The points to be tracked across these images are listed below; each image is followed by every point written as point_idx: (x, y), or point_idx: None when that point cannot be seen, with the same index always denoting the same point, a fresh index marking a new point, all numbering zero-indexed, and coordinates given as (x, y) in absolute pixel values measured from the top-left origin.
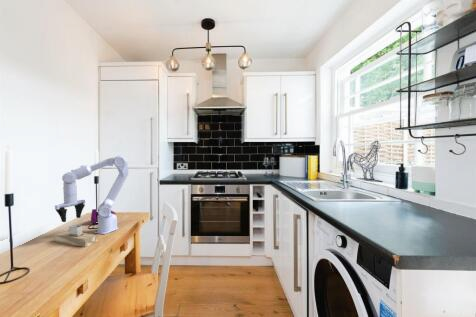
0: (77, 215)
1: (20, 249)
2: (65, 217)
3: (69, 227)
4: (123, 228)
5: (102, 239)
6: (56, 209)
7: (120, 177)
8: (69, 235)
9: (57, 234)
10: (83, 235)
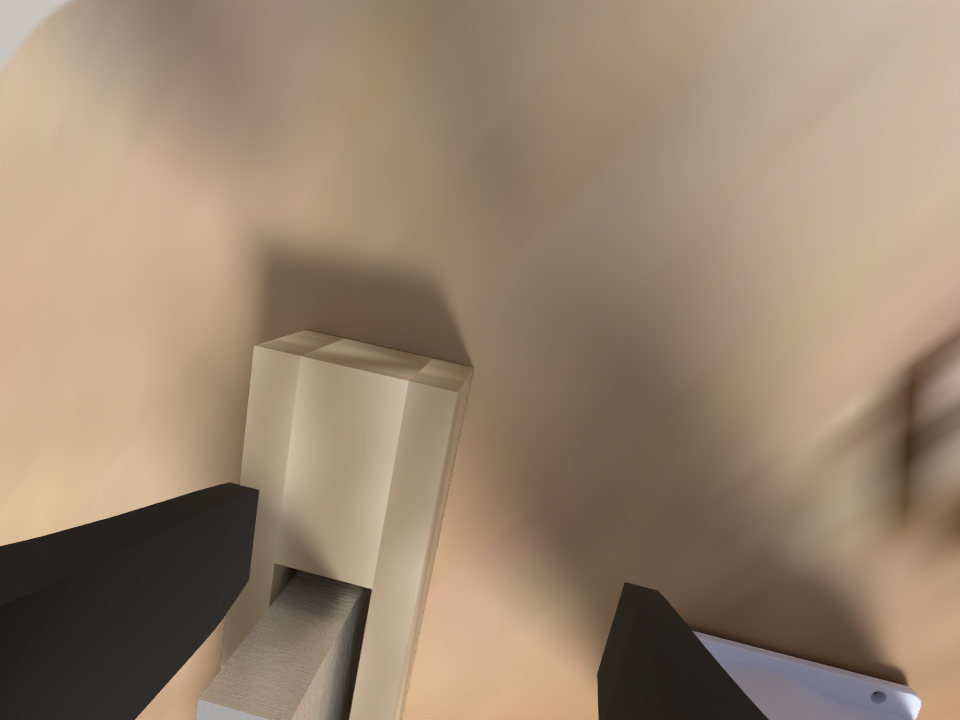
0: (625, 674)
1: (20, 118)
2: (135, 695)
3: (208, 692)
4: None
5: None
6: None
7: None
8: (289, 583)
9: (270, 380)
10: None
